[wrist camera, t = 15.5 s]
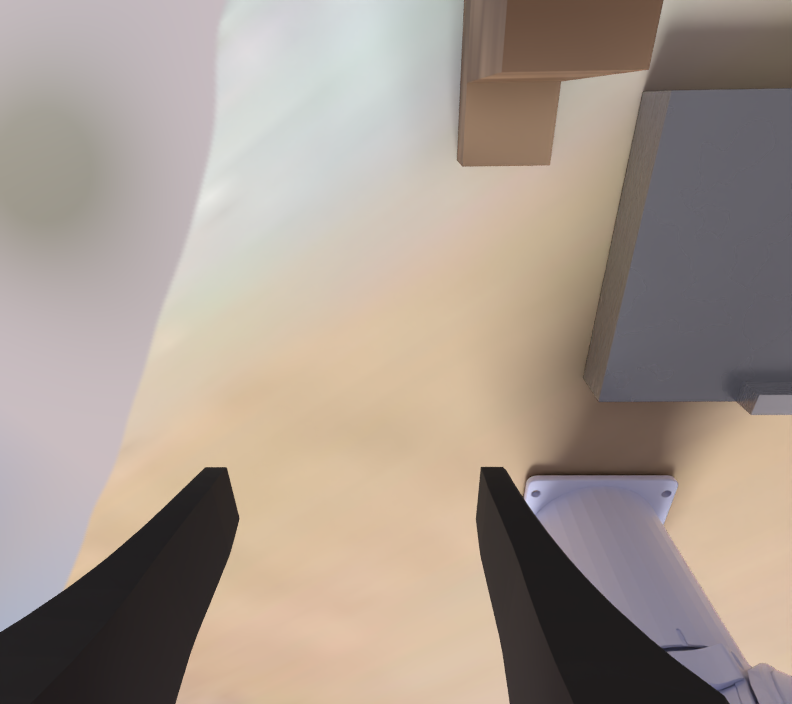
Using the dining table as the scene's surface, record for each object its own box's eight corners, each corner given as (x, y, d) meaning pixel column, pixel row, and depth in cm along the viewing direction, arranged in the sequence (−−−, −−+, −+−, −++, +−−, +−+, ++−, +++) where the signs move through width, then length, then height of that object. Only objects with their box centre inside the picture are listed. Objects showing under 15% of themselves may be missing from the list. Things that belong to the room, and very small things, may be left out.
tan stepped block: (535, 159, 18) (621, 196, 11) (456, 160, 18) (491, 198, 11) (569, -128, 14) (739, -366, 7) (469, -126, 14) (536, -359, 7)
